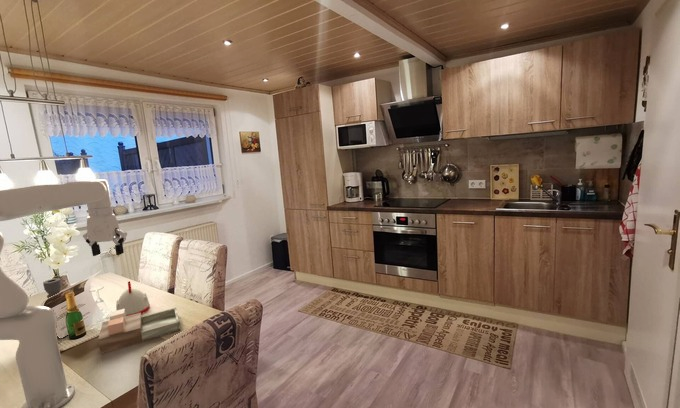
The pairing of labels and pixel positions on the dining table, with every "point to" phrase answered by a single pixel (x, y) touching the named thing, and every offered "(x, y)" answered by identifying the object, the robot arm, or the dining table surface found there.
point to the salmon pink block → (116, 326)
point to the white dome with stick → (133, 301)
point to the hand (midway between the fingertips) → (108, 254)
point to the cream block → (118, 314)
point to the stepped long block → (139, 329)
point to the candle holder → (52, 287)
